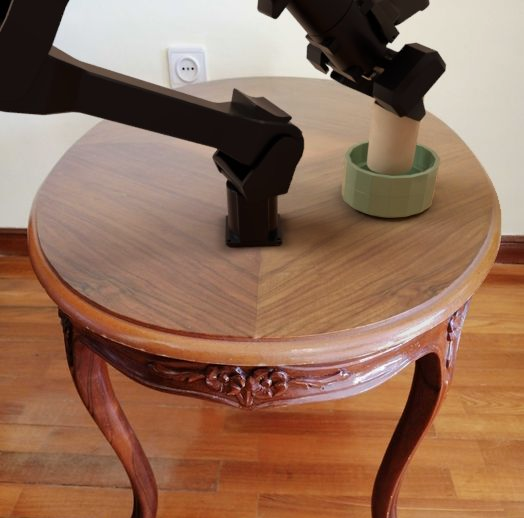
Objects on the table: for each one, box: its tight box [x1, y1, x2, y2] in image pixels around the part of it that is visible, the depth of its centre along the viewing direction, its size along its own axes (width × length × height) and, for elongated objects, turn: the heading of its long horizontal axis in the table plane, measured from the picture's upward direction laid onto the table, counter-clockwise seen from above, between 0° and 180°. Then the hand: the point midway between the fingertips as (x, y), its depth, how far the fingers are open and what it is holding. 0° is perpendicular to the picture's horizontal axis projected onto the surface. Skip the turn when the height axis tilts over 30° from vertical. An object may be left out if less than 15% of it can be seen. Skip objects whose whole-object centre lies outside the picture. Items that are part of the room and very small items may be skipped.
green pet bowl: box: [341, 139, 441, 219], centre depth 73 cm, size 11×11×6 cm
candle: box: [367, 96, 425, 175], centre depth 69 cm, size 6×6×10 cm
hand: (407, 109), depth 68 cm, fingers closed on candle, 5 cm apart
